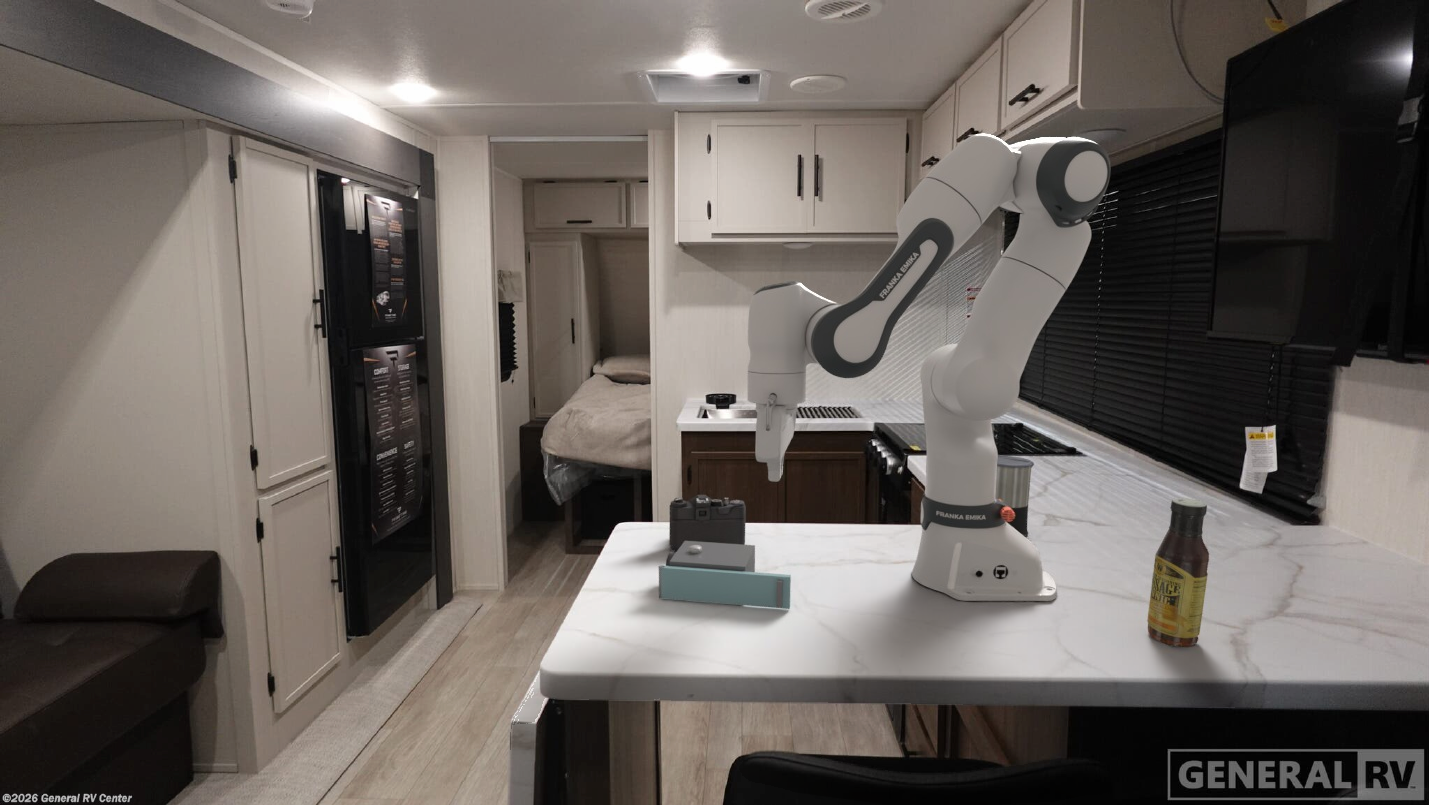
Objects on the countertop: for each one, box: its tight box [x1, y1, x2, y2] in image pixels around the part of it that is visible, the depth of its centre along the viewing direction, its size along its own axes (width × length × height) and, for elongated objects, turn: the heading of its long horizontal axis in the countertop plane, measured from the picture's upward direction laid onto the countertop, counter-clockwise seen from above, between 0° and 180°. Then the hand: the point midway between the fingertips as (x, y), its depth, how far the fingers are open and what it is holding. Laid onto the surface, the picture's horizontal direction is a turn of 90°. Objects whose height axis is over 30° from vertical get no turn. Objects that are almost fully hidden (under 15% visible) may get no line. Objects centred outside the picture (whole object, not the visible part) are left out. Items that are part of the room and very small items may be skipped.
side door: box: [658, 564, 792, 610], centre depth 114 cm, size 20×2×5 cm, turn 78°
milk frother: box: [995, 455, 1035, 537], centre depth 146 cm, size 14×16×15 cm
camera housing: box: [665, 541, 756, 572], centre depth 121 cm, size 13×10×7 cm
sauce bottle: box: [1146, 497, 1210, 648], centre depth 102 cm, size 7×6×20 cm
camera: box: [668, 494, 747, 552], centre depth 143 cm, size 14×11×10 cm
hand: (775, 478), depth 116 cm, fingers closed
